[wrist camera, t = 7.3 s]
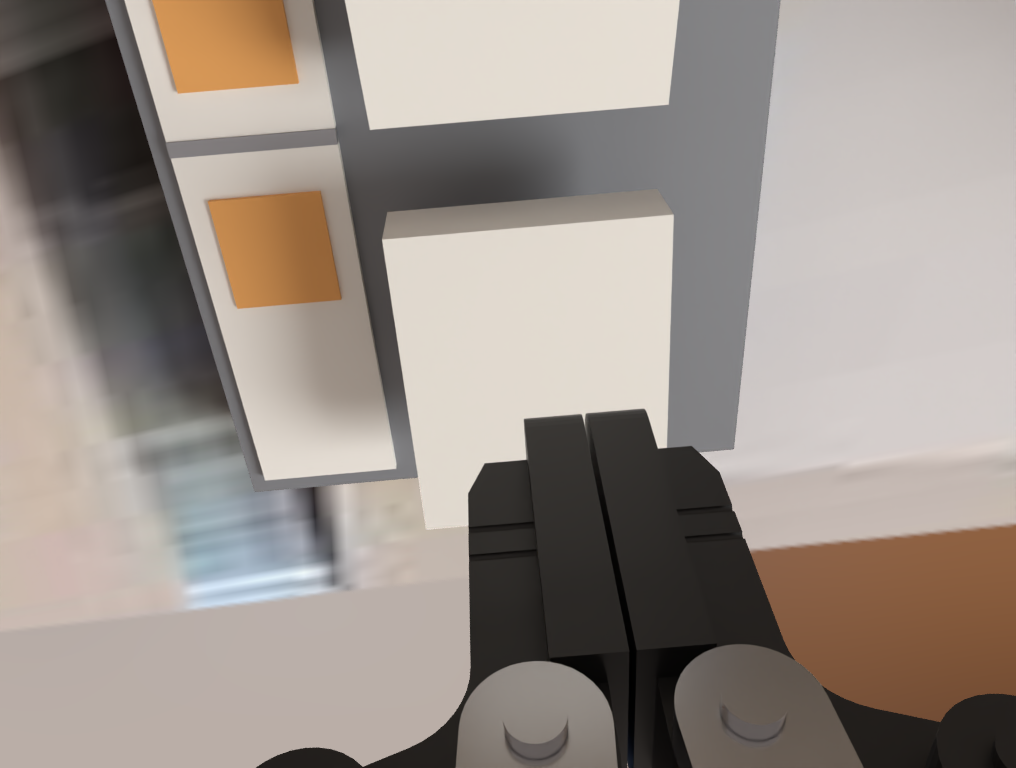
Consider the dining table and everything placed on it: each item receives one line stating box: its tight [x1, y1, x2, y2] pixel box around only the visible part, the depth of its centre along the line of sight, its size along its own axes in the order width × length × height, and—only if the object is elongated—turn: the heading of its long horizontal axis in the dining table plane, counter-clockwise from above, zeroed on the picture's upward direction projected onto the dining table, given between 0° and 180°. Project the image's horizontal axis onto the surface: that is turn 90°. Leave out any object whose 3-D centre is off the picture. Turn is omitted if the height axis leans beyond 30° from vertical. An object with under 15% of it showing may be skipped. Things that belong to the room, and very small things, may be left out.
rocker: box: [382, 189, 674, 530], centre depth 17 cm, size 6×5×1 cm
